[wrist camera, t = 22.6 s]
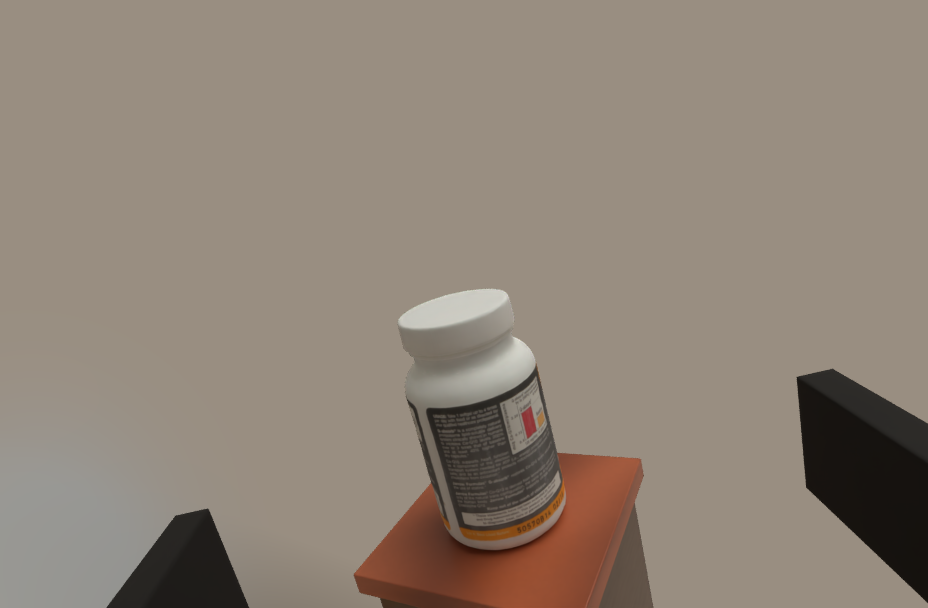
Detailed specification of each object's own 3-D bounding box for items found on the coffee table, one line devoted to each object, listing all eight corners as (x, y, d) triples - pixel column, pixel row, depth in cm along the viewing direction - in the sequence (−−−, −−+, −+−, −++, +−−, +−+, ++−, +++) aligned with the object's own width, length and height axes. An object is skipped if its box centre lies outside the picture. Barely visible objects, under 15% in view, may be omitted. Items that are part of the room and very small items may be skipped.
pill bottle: (590, 488, 26) (549, 281, 23) (524, 574, 22) (464, 335, 19) (490, 466, 30) (445, 285, 27) (418, 536, 25) (356, 331, 23)
